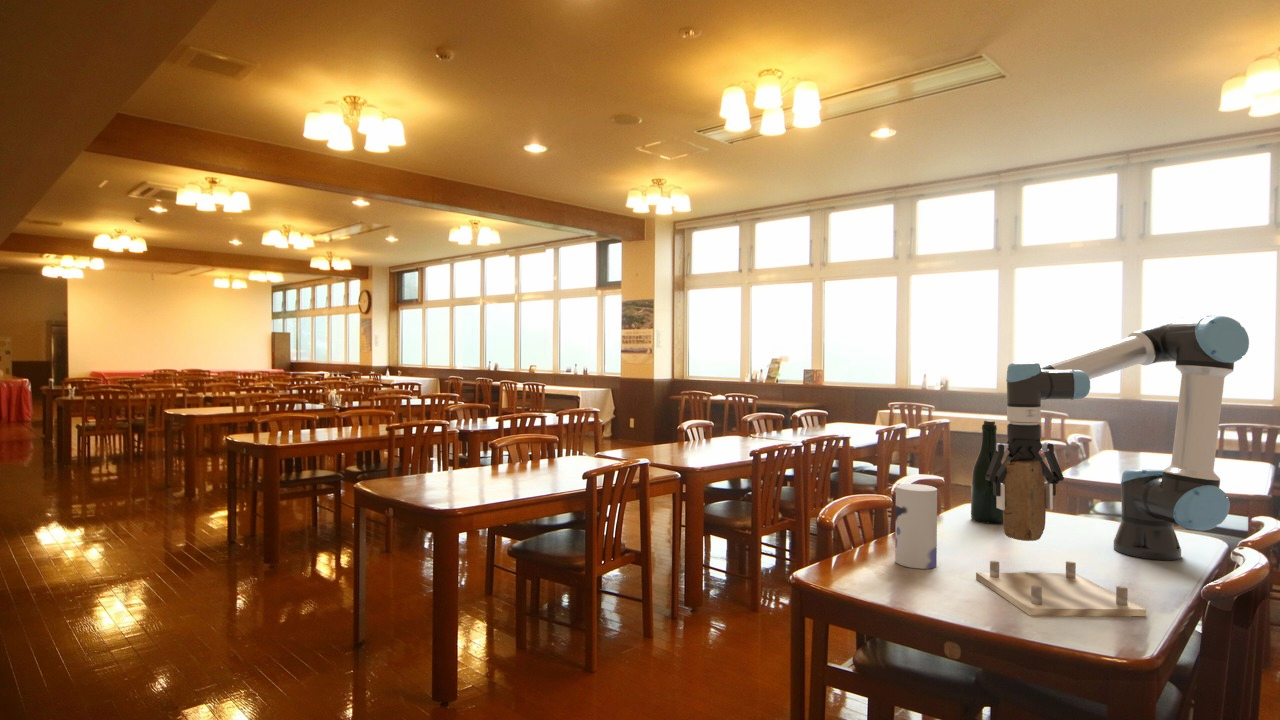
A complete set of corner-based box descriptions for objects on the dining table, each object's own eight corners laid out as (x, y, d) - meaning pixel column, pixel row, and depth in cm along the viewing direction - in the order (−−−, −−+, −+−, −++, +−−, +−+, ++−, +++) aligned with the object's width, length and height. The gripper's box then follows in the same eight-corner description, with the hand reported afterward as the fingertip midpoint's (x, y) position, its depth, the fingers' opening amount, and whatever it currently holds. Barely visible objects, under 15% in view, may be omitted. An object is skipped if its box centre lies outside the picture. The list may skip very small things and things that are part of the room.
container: (888, 558, 186) (889, 483, 186) (924, 557, 187) (925, 483, 187) (906, 569, 176) (906, 490, 176) (944, 569, 177) (944, 490, 177)
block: (1030, 543, 172) (1029, 462, 172) (999, 537, 178) (999, 459, 178) (1050, 536, 179) (1049, 458, 179) (1020, 530, 185) (1019, 455, 185)
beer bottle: (1000, 518, 234) (1001, 419, 233) (1011, 525, 223) (1012, 422, 223) (967, 516, 235) (967, 418, 235) (975, 524, 225) (976, 421, 225)
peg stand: (1075, 579, 169) (1075, 558, 169) (1145, 616, 145) (1146, 592, 145) (975, 578, 170) (976, 558, 170) (1029, 615, 146) (1030, 591, 146)
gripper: (984, 425, 175) (984, 512, 175) (1079, 424, 174) (1080, 511, 175) (970, 422, 182) (970, 505, 182) (1062, 421, 182) (1062, 505, 182)
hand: (1024, 508), depth 178 cm, fingers closed on block, 11 cm apart
